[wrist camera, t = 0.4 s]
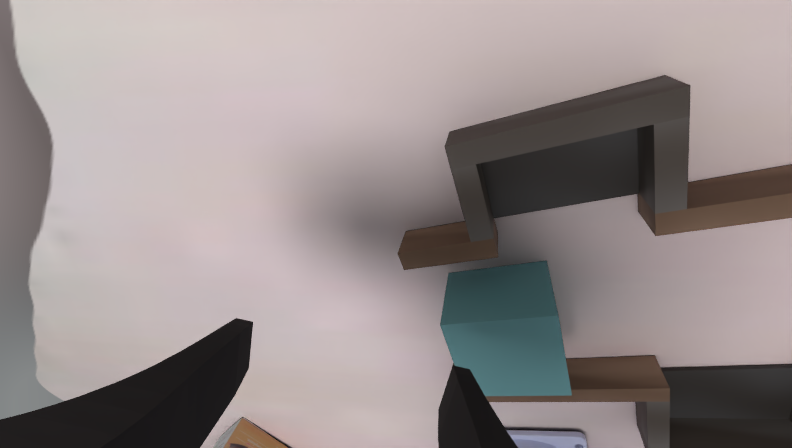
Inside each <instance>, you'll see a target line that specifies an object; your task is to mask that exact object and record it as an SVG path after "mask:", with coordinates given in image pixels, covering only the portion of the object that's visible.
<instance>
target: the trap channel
mask: <svg viewBox="0 0 792 448" xmlns="http://www.w3.org/2000/svg"><path fill="white" fill-rule="evenodd" d="M689 118H690V85H688V84H685V83H683V82H681V81H678V80H676V79H673V78H671V77H668V76H666V75H665V76H661V77H657V78H653V79H649V80H646V81H642V82H638V83H634V84H630V85H626V86H623V87H619V88H615V89H611V90H607V91H604V92H600V93H596V94H592V95H588V96H584V97H581V98H577V99H573V100H569V101H565V102H561V103H558V104H554V105H550V106H546V107H542V108H539V109H535V110H531V111H527V112H523V113H519V114H516V115H512V116H508V117H504V118H500V119H497V120H493V121H489V122H485V123H481V124H477V125H474V126H470V127H466V128H462V129H458V130H454V131H451V132H449V135H448V138H447V141H446V144H445V150H446V153H447V157H448V161H449V164H450V168H451V172H452V175H453V179H454V182H455V186H456V190H457V193H458V197H459V201H460V204H461V208H462V212H463V215H464V219H465V221H463V222H458V223H452V224H446V225H440V226H435V227H429V228H423V229H417V230H411V231H406V233H405V235H404V238H403V240H402V243H401V246H400V248H399V251H398V256H399V258H400V261H401V263H402V266H403V269H404V270H408V269H415V268H422V267H430V266H437V265H445V264H452V263H459V262H467V261H474V260H482V259H489V258H497V257H498V233H497V229H496V224H495V220H494V218H498V217H504V216H510V215H516V214H522V213H527V212H533V211H539V210H545V209H551V208H557V207H563V206H568V205H574V204H580V203H586V202H592V201H598V200H603V199H609V198H615V197H621V196H627V195H633V194H638V212H639V213H640V215H641V216H642V217H643V219H644V220H645V222H646V223H647V225H648V226H649V227H650V229H651V230H652V232H653V233H654V234H655V236H660V235H667V234H674V233H682V232H689V231H697V230H704V229H712V228H719V227H726V226H734V225H741V224H749V223H756V222H763V221H771V220H778V219H786V218H792V165H787V166H781V167H775V168H769V169H764V170H758V171H752V172H746V173H741V174H735V175H729V176H723V177H717V178H712V179H706V180H700V181H694V182H689V183H688V154H689ZM566 363H567V369H568V375H569V381H570V387H571V393H572V395H570V396H485V397H486V398H487V400H488V402H636V416H637V426H638V429H639V432H640V435H641V438H642V441H643V443H644V446H645V448H792V364H789V365H754V366H719V367H685V368H660V366H659V364H658V362H657V359H656V357H655V356H631V357H605V358H580V359H566ZM453 366H455V365H454V363H453Z"/></svg>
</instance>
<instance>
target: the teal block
mask: <svg viewBox="0 0 792 448" xmlns="http://www.w3.org/2000/svg"><path fill="white" fill-rule="evenodd" d="M440 326H441V329H442V331H443V334H444V337H445V340H446V343H447V345H448V348H449V351H450V354H451V357H452V359H453V362H454V365H455V366H458V367H463V368H467V369H470V370H471V372H472V374H473V375H474V377H475V379H476V381H477V383H478V384H479V386H480V388H481V390H482V392H483V393H484V395H485V396H570V395H572V393H571V387H570V381H569V375H568V369H567V363H566V357H565V351H564V346H563V340H562V334H561V328H560V322H559V316H558V311H557V307H556V302H555V297H554V293H553V288H552V283H551V279H550V274H549V269H548V265H547V261H540V262H532V263H524V264H516V265H508V266H500V267H492V268H485V269H477V270H469V271H461V272H453V273H449V274H448V280H447V286H446V292H445V298H444V305H443V311H442V317H441V323H440Z"/></svg>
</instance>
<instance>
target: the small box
mask: <svg viewBox="0 0 792 448" xmlns="http://www.w3.org/2000/svg"><path fill="white" fill-rule="evenodd" d="M213 448H288V447H286V446H285V445H283V444H282V443H280V442H279V441H277V440H276V439H274V438H273V437H271V436H270V435H268V434H267V433H265V432H264V431H263V430H261V429H260V428H258V427H257V426H255V425H254V424H253V423H252V422H250V421H249V420H247V419H246V418H241V419H240V420H239V421H237V422H236V423H235V424H234V425H233V426H232V427H231V428H229V429H228V430H227V431H226V432H225V433H224V434H223V435H222V436H221V437H220V438H219V440H218V441H217V443H216V444H215V446H214V447H213Z"/></svg>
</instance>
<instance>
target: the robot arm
mask: <svg viewBox="0 0 792 448" xmlns="http://www.w3.org/2000/svg"><path fill="white" fill-rule="evenodd" d="M252 327H253V322H251V321H246V320H242V319H237V318H236V319H234V320H232V321H231V322H229V323H227V324H226V325H224V326H222V327H221V328H219V329H217V330H216V331H214V332H213V333H211V334H209V335H208V336H206V337H204V338H203V339H201V340H199V341H198V342H196V343H194V344H193V345H191V346H189V347H187V348H186V349H184V350H182V351H180V352H179V353H177V354H175V355H173V356H171V357H169V358H167V359H165V360H163V361H162V362H160V363H158V364H156V365H154V366H152V367H150V368H148V369H146V370H143V371H141V372H139V373H137V374H135V375H132V376H130V377H128V378H126V379H123V380H121V381H119V382H116V383H114V384H111V385H108V386H106V387H103V388H100V389H98V390H95V391H93V392H90V393H87V394H85V395H82V396H79V397H76V398H73V399H70V400H67V401H64V402H61V403H58V404H55V405H52V406H48V407H45V408H42V409H38V410H35V411H32V412H28V413H24V414H21V415H17V416H13V417H9V418H6V419H1V420H0V448H200V447H201V445H202V444H203V442H204V441H205V439H206V438H207V436H208V435H209V433H210V432H211V430H212V429H213V427H214V426H215V424H216V423H217V421H218V420H219V418H220V417H221V415H222V414H223V412H224V411H225V409H226V408H227V406H228V405H229V403H230V402H231V400H232V399H233V397H234V396H235V394H236V392H237V390H238V388H239V386H240V384H241V382H242V380H243V378H244V376H245V374H246V372H247V370H248V368H249V359H250V348H251V338H252ZM438 442H439V448H587V442H586V437H585V435H584V434H582V433H580V432H567V431H525V430H506V429H505V428H504V426H503V425H502V423H501V421H500V420H499V418H498V417H497V415H496V413H495V412H494V410H493V409H492V407H491V405H490V404H489V402H488V400H487V398H486V397H485V395H484V393H483V392H482V390H481V388H480V386H479V384H478V383H477V381H476V379H475V377H474V375H473V374H472V372H471V370H470V369H467V368H463V367H458V366H453V367H452V370H451V373H450V376H449V379H448V382H447V385H446V388H445V391H444V395H443V398H442V401H441V404H440V407H439V419H438Z"/></svg>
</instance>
